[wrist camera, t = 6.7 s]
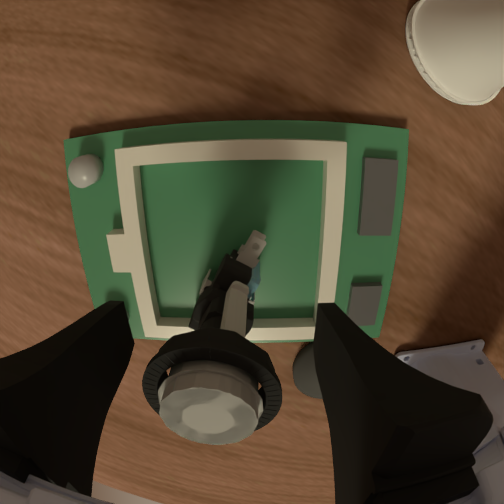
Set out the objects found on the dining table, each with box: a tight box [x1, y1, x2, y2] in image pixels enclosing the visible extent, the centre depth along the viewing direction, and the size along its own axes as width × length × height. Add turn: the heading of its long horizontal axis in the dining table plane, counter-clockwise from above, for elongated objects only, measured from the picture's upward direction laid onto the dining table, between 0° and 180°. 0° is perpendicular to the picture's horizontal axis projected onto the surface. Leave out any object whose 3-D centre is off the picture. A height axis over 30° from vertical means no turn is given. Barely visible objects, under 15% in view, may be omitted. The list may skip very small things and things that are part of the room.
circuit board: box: [64, 120, 409, 343], centre depth 18 cm, size 20×14×2 cm
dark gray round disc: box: [293, 341, 323, 399], centre depth 22 cm, size 6×6×1 cm
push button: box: [142, 230, 282, 445], centre depth 14 cm, size 7×5×10 cm
